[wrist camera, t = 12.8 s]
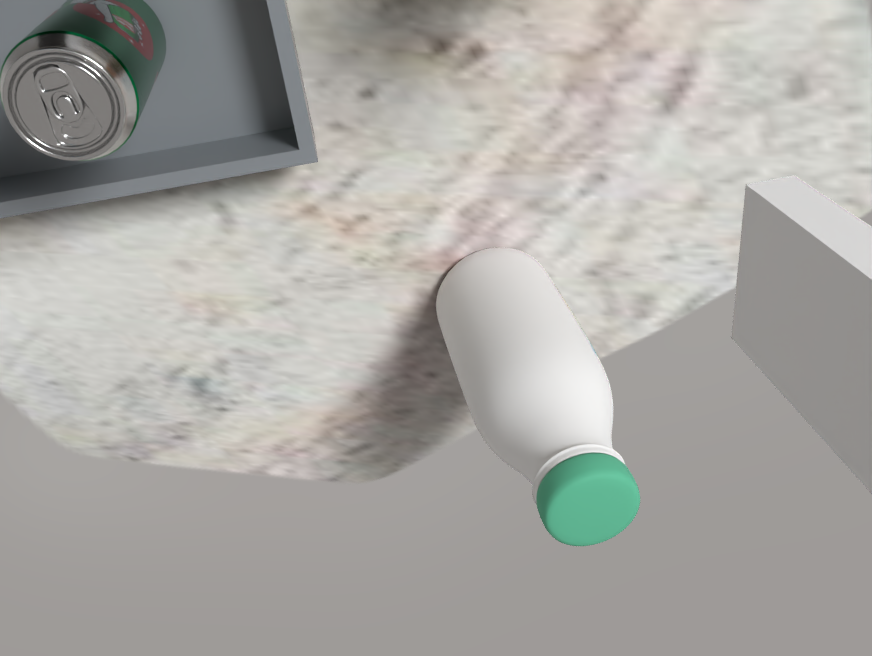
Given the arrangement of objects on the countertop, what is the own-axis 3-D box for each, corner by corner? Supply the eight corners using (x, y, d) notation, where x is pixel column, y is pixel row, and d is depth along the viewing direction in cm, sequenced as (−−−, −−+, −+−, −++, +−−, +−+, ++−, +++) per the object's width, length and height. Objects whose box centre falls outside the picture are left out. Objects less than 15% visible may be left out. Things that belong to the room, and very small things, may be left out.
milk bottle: (410, 313, 53) (476, 541, 36) (483, 221, 50) (590, 420, 34) (499, 363, 56) (598, 592, 39) (572, 279, 54) (709, 486, 37)
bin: (-132, -88, 37) (-177, -78, 33) (256, -144, 38) (254, -141, 35) (-8, 190, 44) (-33, 224, 40) (313, 134, 46) (318, 161, 42)
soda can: (90, 100, 42) (34, 186, 32) (40, 0, 39) (-38, 60, 29) (183, 71, 42) (157, 148, 32) (140, -31, 39) (97, 19, 29)
